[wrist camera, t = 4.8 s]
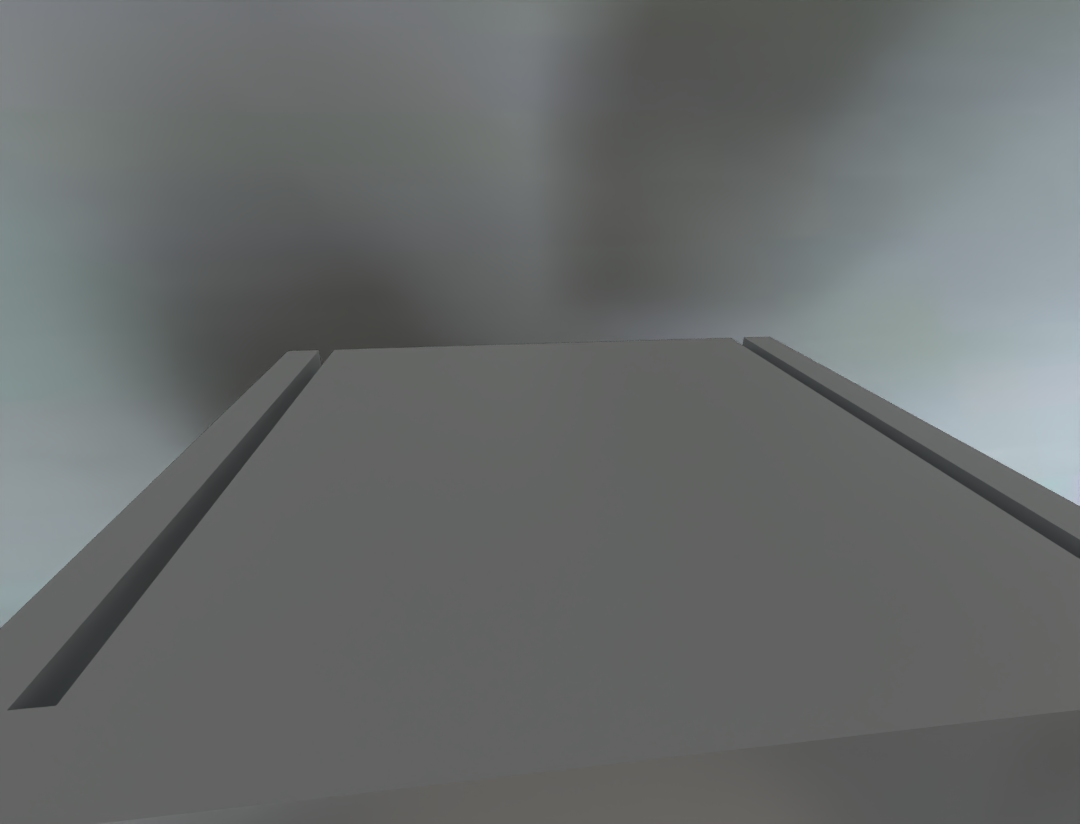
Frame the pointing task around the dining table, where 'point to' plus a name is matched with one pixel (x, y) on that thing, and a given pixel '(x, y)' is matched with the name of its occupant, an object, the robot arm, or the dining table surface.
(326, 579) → the grey rectangular prism
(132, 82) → the dining table surface
